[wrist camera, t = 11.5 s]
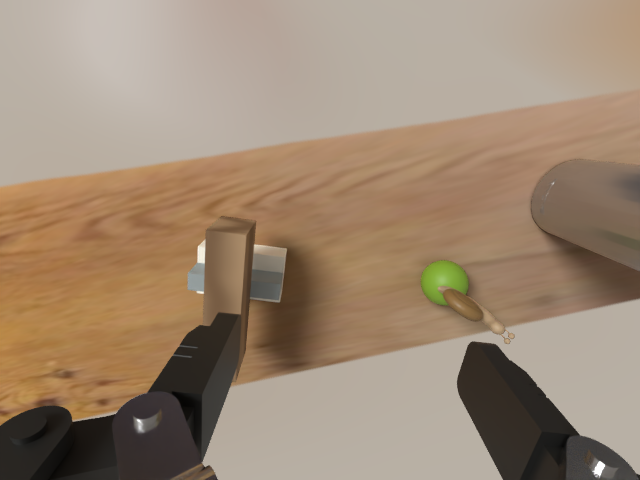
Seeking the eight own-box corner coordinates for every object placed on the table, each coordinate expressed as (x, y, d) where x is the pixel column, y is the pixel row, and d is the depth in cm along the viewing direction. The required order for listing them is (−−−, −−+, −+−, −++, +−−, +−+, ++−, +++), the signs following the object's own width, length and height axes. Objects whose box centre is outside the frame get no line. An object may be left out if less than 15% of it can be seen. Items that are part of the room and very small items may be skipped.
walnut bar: (256, 220, 33) (246, 235, 28) (245, 350, 37) (235, 382, 33) (221, 215, 32) (205, 230, 28) (215, 347, 37) (201, 378, 33)
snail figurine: (447, 301, 43) (496, 362, 31) (407, 281, 42) (442, 337, 30) (471, 268, 41) (531, 319, 30) (430, 246, 40) (476, 291, 29)
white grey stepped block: (287, 248, 40) (282, 267, 34) (282, 291, 42) (277, 315, 36) (206, 238, 39) (188, 256, 34) (205, 282, 41) (187, 305, 35)
